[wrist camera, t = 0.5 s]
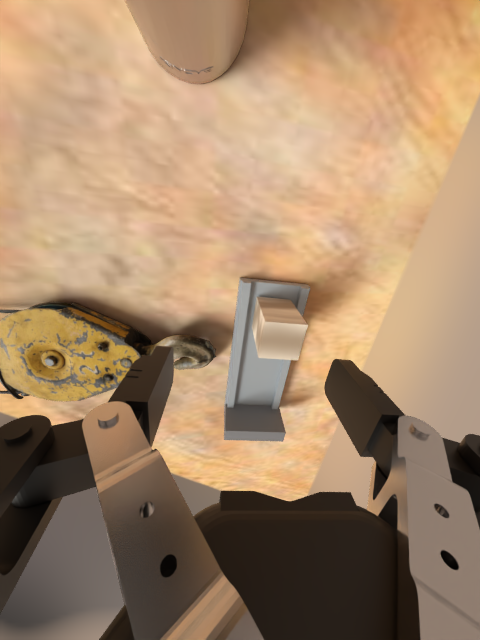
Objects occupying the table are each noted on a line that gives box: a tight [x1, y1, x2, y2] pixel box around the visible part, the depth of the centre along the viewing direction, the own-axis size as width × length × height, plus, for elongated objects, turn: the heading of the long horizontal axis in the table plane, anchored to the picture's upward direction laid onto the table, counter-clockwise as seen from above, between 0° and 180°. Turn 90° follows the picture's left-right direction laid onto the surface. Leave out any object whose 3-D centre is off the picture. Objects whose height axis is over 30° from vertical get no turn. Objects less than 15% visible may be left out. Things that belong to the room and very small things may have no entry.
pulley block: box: [0, 302, 216, 402], centre depth 30 cm, size 14×6×30 cm
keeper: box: [252, 297, 308, 360], centre depth 26 cm, size 4×4×7 cm
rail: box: [224, 278, 310, 441], centre depth 31 cm, size 23×9×6 cm, turn 173°
